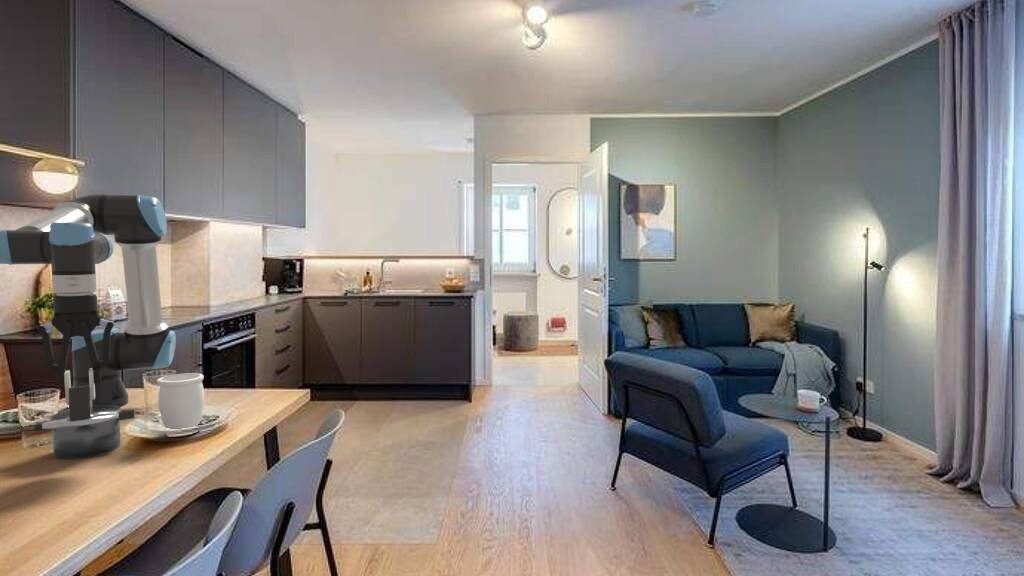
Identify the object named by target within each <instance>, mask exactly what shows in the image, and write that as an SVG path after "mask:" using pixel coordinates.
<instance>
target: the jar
mask: <svg viewBox="0 0 1024 576" xmlns="http://www.w3.org/2000/svg"><path fill="white" fill-rule="evenodd" d="M203 380H204V374H202V373H198V372H197V373H196V372H195V373H194V372H192V373H191V372H186V373H185V372H184V373H183V372H182V373H176V374H170V375H165V376H162V377H160V378H157V385H159V390H158V401H157V403H158V408H159V413H160V418H161V421H162V424H163V426H164V428H165V427H166V428H170V429H182V428H189V427H193V426H196V425H198V424H200V423H201V420H202V417H203V414H204V407H205V406H204V405H205V389H204V385H203V383H202V381H203ZM166 428H165V429H166Z"/></svg>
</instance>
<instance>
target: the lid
mask: <svg viewBox="0 0 1024 576" xmlns="http://www.w3.org/2000/svg"><path fill="white" fill-rule="evenodd" d="M69 410H70V417H69V418H67V419H61V420H55V421H50V420H49V421H50V422H46V423H43V424H42V429H50V430H52V429H57V428H67V427H75V426H82V425H89V424H95V423H101V422H106V421H111V420H115V419H118V418H119V413H107V414H97V415H96V414H93V406H92V400H90V386H89V385H86V386H77V387H73V386H71V388H69Z"/></svg>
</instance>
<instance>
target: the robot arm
mask: <svg viewBox="0 0 1024 576" xmlns="http://www.w3.org/2000/svg"><path fill="white" fill-rule="evenodd" d="M167 223H168V222H167V216H166V212H165V209H164V207H163V205H162V203H161V201H160V200H159V199H158V198H157V197H154V196H149V195H148V196H147V195H140V194H133V195H132V194H104V193H102V194H101V193H99V194H98V193H97V194H87V195H83V196H80V197H76V198H73V199H69V200H66V201H63V202H62V203H59V204H57V205H56V206H55V207H54V208H53V209H52V211H51V212H50V213H48V214H46V215H44V216H42V217H40V218H38V219H35V220H34V221H32V222H30V223H27V224H25V225H23V226H21V227H19V228H16V229H13V230H10V229H8V230H7V229H2V230H0V265H10V266H11V265H51V283H52V285H51V286H52V293H54V294H55V295H54V296H53V297H52V300H53V301H52V302H53V303H52V304H53V305H52V306H53V317H52V318H51V321H49V322H47V323H45V324H40V325H38V326H37V327H36V331H37V333H38V334H39V335H40V336H41V341H42V348H43V355H44V363H45V368H46V371H48V372H55V373H56V374H57V384H58V385H57V386H59V388H64V393H65V403H66V406H67V405H69V388H71V387H77V386H86V385H89V386H90V400H92V406H94V405H115V406H119V407H122V406H124V405H126V404H129V393H128V392H127V389H126V387H125V384H124V382H123V380H122V377H121V371H133V370H155V369H163V368H164V369H165V368H168V367H169V366H170V365H171V363H172V362H173V359H174V354H175V352H176V351H175V350H176V345H177V343H176V341H177V336H176V331H174V330H170V328H169V323H167V322H165V321H164V320H163V313H162V302H161V289H160V278H159V277H160V276H159V267H158V266H159V265H158V256H157V255H158V253H157V246H158V245H159V244H160V243H161V242H162V237H164V236H166V235H167V234H168V233H167V232H168V224H167ZM108 236H114V243H115V244H116V245H118V246H119V247H121V254H122V262H123V273H124V281H125V282H124V283H125V291H126V292H125V294H126V301H127V302H126V303H127V310H128V311H127V312H128V324H127V325H126V326H125V327H124V329H123V330H124V331H123V332H120V330H119V328H118V327H114V325H115V322H114V321H113V320H106V319H103V318H101V316H100V314H99V311H98V309H99V308H98V295H97V294H96V293H95V292H96V291H97V273H96V265H98V264H101V263H103V262H105V261H107V260H108V259H110V258H111V256H112V255H113V253H114V248H115V247H114V244H113V241H112V239H111V238H109V237H108ZM98 325H100V329H96V327H97V326H98ZM53 327H54V328H55V329H56V330H58V332H59V333H60V334H62V341H61V345H60V346H61V347H60V352H59V353H60V354H59V357H58V362H57V363H58V364H55V357H54V350H53V343H52V336H51V333H52V332H53ZM95 329H96V330H95ZM70 344H71V350H70ZM69 350H70V351H71V356H72V375H73V377H72V378H73V385H72V384H71V383H72V382H71V371H70V369H68V370H66V368H67V361H68V356H69Z"/></svg>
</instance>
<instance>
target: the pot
mask: <svg viewBox="0 0 1024 576" xmlns="http://www.w3.org/2000/svg"><path fill="white" fill-rule="evenodd" d="M121 409H122V407H121V406H115V405H94V406H93V414H96V415H97V414H107V413H119V418H118V419H115V420H111V421H106V422H101V423H95V424H89V425H82V426H75V427H67V428H57V429H42V424H43V423H46V422H50V421H55V420H61V419H67V418H69V417H70V410H68V409H66V410H62V411H58V412H57V413H54V414H52V415H50V417H49V420H45V421H44V420H43V421H36V422H35V424H34V432H42V431H49V430H52V431H51V432H52V451H53V457H54V458H56V459H58V460H80V459H88V458H93V457H97V456H102V455H104V454H108V453H110V452H113V451H115V450H117V449H119V447H120V446H121V445H122V443H121V440H122V439H121V438H122V437H121V422H120V421H125V420H129V419H131V420H132V419H135V410H134V409H131V410H123V411H122V410H121Z"/></svg>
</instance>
